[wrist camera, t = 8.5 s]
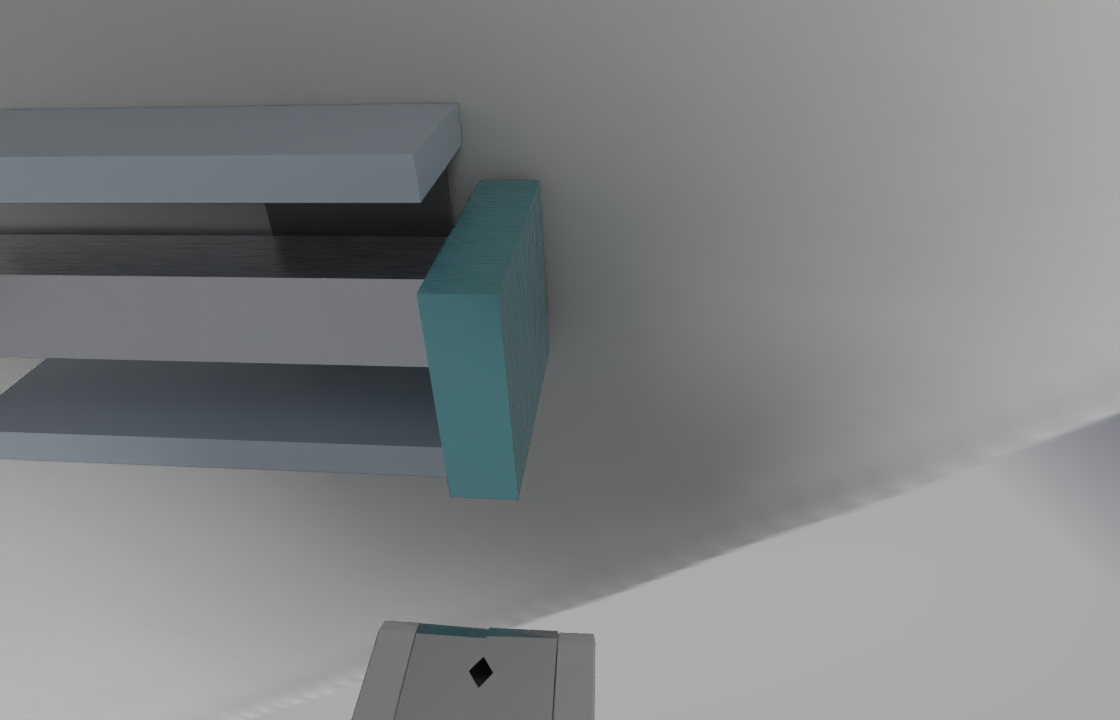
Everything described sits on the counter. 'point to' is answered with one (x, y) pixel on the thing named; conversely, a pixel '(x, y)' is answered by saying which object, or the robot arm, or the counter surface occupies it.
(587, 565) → the counter surface
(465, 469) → the teal headed mallet
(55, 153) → the channel
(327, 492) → the counter surface
